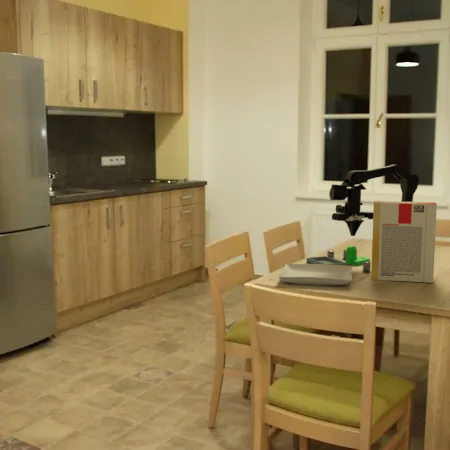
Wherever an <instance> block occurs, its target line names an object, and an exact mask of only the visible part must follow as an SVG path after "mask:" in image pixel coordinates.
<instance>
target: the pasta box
mask: <svg viewBox="0 0 450 450" xmlns="http://www.w3.org/2000/svg"><path fill="white" fill-rule="evenodd" d="M437 206H438V204H437V203H436V202H434V201H427V202H426V201H413V202H401V201H392V200H387V201H386V200H374V201H373V211H372V212H373V219H372V240H371V241H372V242H371V243H372V245H371V247H372V248H371V269H370V274H371V276H370V278H371V279H370V280H379V281H394V282H397V281H398V282H410V283H411V282H413V283H415V282H416V283H429V284H430V283H431V284H432V283H434V271H435V270H434V269H435V252H436V251H435V250H436V227H437V225H436V224H437Z"/></svg>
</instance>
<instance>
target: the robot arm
mask: <svg viewBox="0 0 450 450" xmlns="http://www.w3.org/2000/svg"><path fill="white" fill-rule="evenodd" d="M387 176H394V177H395V178H396V179H397V180H399V185H400V190H401V193H402V194H401V200H400V202H414V201H413V200H414V194H415V193H416V191H417V189H418V187H419V183H420V178H419V176H418V175H417V174H415V173H411V172H410V171H408V170H407V169H405V168H403V167H402V166H400V165H399V164H390V165H386V166H382V167H377V168H371V169H367V170H349V171H348V172H347V174H346V176H345V179H344V180H343V181H342V183H341V184H334V183H332V184H331V187H330V189H329V194H328V195H329V199H330V201H345V200H346V201H345V202H344V205H341V204H336V205H335V212H334V213H332V215H331V220H333V221H338V222H340V221H341V222H345V224H346V225H347V228H348V231H349V234H350V236H351V237H355V236H356V234H357V232H358V230H359V228H360V226H361V225H362V224H363V223H364V222H365V220H364V219H368V220H373V211H361V206H363V202H361V201H362V191H363V190H367V188H366V187H365V186H364V185H363V183H365V182H367V181H370V180H372V179H376V178H381V177H387Z"/></svg>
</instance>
